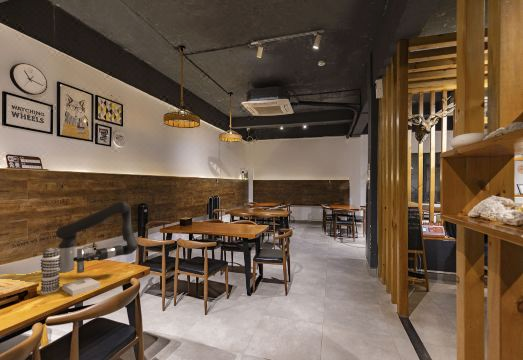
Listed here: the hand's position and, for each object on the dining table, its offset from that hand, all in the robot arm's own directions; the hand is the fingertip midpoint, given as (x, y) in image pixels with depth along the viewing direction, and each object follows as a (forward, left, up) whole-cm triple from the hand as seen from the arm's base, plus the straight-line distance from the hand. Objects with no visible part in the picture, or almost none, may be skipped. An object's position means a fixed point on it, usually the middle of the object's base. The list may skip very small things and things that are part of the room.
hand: (75, 260), depth 148 cm
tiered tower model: (-10, -9, -18) cm, 22 cm away
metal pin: (0, +3, -8) cm, 8 cm away
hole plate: (+2, +3, -18) cm, 18 cm away
